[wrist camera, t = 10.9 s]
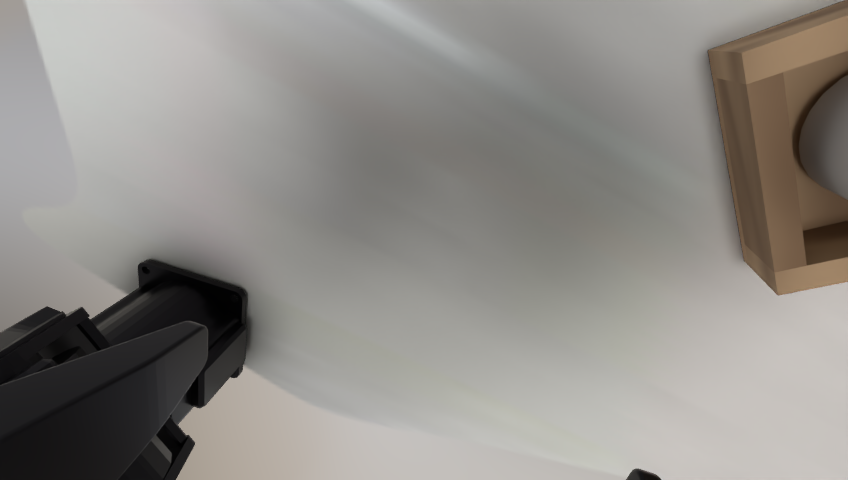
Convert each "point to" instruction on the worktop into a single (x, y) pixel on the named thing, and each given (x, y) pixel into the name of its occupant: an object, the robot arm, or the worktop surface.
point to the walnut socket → (783, 148)
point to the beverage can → (827, 140)
